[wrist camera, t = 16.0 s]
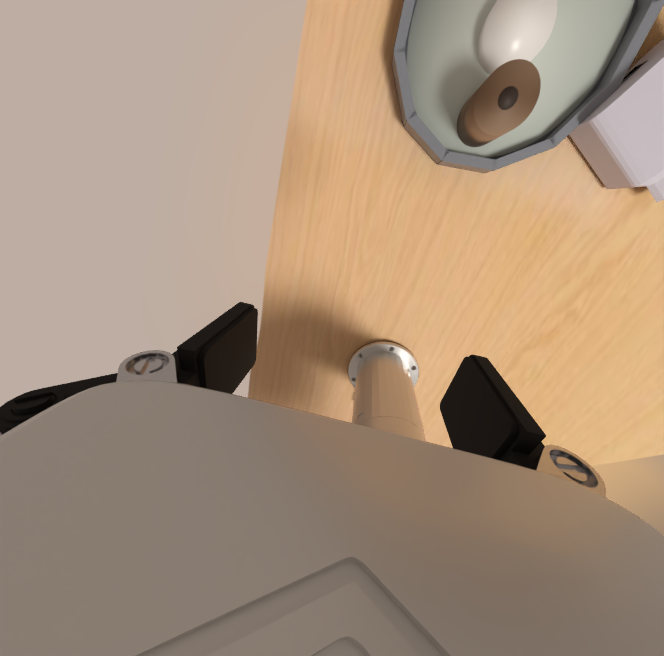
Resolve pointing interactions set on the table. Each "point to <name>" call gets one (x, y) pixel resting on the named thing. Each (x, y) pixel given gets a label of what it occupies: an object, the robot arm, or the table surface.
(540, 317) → the table surface
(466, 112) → the bead
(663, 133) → the charger
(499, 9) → the tray
